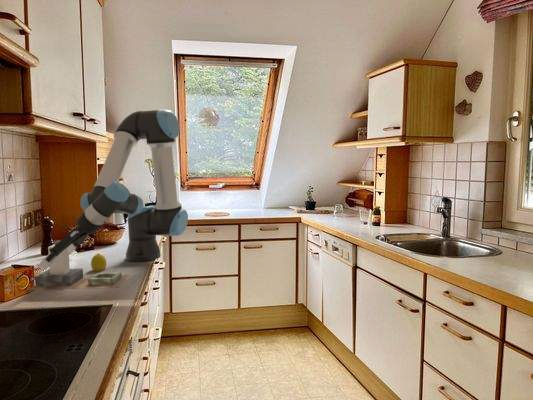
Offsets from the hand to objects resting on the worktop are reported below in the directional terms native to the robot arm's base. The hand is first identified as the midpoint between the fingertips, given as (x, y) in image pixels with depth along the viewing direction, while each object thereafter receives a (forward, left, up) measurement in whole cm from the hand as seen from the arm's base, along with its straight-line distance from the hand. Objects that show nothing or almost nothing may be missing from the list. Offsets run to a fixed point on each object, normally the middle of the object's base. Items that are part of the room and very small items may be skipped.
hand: (52, 262), depth 148 cm
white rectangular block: (-2, +2, -7) cm, 8 cm away
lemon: (-19, -3, -9) cm, 21 cm away
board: (-7, +8, -9) cm, 13 cm away
